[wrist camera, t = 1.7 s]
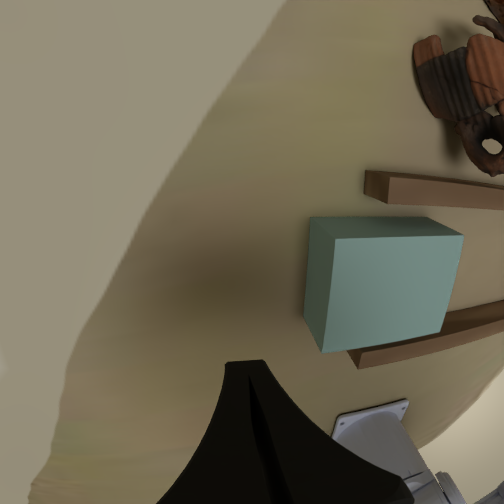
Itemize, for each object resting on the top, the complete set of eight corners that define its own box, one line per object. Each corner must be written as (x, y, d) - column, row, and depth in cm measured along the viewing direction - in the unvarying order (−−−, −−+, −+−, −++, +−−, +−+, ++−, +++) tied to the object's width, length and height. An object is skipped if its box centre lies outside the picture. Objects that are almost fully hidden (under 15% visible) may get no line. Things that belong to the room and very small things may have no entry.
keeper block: (408, 302, 23) (439, 332, 19) (302, 314, 22) (321, 353, 18) (424, 216, 20) (464, 235, 16) (309, 216, 19) (335, 239, 15)
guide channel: (510, 309, 26) (527, 322, 23) (343, 345, 23) (357, 369, 20) (537, 192, 21) (559, 200, 18) (365, 170, 19) (389, 176, 16)
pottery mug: (397, 7, 15) (497, -17, 8) (448, 62, 21) (525, 53, 14) (417, 165, 16) (549, 164, 10) (462, 189, 22) (550, 192, 15)
